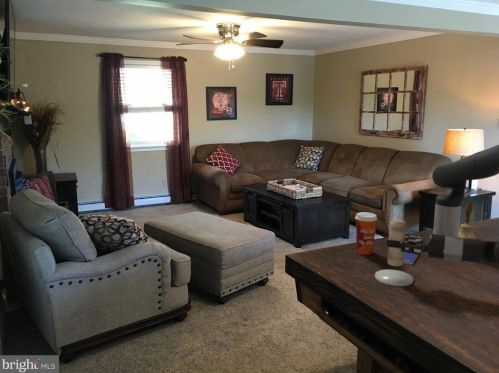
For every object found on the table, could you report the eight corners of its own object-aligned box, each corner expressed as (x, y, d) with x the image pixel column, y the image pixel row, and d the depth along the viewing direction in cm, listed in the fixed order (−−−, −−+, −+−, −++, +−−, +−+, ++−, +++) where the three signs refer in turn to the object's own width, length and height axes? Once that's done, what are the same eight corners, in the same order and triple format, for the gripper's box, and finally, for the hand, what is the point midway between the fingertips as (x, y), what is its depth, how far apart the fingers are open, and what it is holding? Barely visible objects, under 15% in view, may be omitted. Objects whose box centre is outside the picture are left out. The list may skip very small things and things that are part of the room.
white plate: (377, 268, 146) (377, 267, 146) (414, 274, 141) (414, 272, 141) (372, 282, 135) (372, 280, 135) (411, 289, 130) (412, 287, 130)
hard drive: (412, 262, 149) (419, 251, 159) (389, 257, 153) (397, 247, 164) (412, 266, 149) (418, 255, 160) (388, 261, 154) (396, 251, 164)
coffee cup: (360, 256, 157) (362, 218, 154) (349, 249, 165) (351, 212, 162) (380, 254, 159) (382, 216, 156) (368, 247, 167) (370, 211, 164)
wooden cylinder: (388, 259, 140) (390, 219, 137) (404, 262, 138) (406, 220, 135) (386, 265, 135) (388, 223, 133) (402, 267, 133) (405, 225, 131)
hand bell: (469, 234, 183) (472, 198, 179) (480, 240, 175) (484, 203, 171) (450, 234, 182) (454, 199, 179) (461, 241, 174) (465, 203, 171)
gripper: (446, 229, 135) (391, 223, 142) (446, 242, 122) (385, 235, 129) (444, 251, 136) (390, 244, 143) (444, 266, 124) (384, 258, 131)
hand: (388, 240), depth 136 cm, fingers closed on wooden cylinder, 5 cm apart
